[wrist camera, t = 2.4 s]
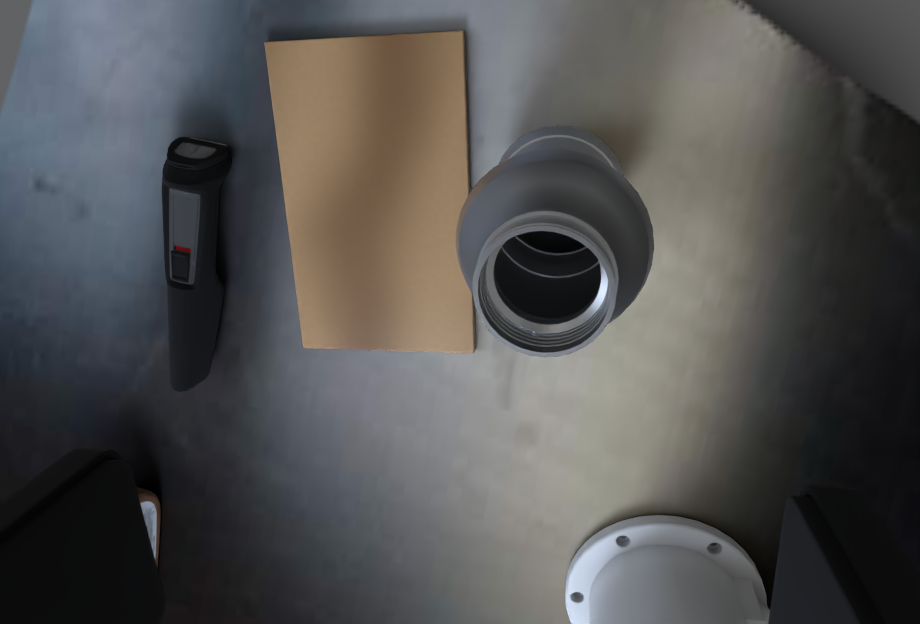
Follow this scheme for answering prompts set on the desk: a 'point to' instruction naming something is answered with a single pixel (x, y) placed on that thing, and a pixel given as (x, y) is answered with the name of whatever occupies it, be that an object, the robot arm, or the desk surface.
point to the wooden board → (375, 188)
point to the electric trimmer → (192, 255)
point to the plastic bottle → (554, 242)
